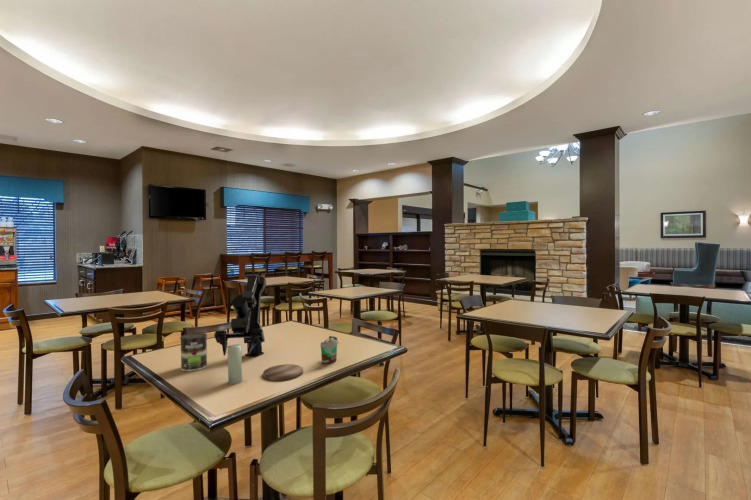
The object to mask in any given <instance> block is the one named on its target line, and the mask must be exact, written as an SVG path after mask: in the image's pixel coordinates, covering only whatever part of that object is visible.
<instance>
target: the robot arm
mask: <svg viewBox="0 0 751 500" xmlns="http://www.w3.org/2000/svg"><path fill="white" fill-rule="evenodd" d="M246 281H247V282H246V285H245V287H244V290H243V292H242V293H239V294H237V296H235V297H234V298H233V299H232V300H231V305H232V307H233V310H234V313H235V314H236V315H235V316H236V317H235V318H231V319H230V329H231V332H227V330H226V329H217V330H216V331H215V332H214V335H213V336H214V337H213V338H214V339H215V341H216V343H218V344H219V345H221V347H222V348H221V349H222V354H223V356H226V354H227V351H228V339H243V343H244V344H246V345H247V346H246V348H247V349H246V351H247V353H245V354H244V356H247V357H253V358H255V357H257V356H261V355H263V354H265V352H264V351H263V347H262V346H263V345H262V343H263V342H264V343H265V333H264V330H263V328H262V326H261V324H260V313H261V299H262V294H263V293H264V291H265V288H266V286H267V278H266V277H264V276H260V275H257V274H251V275H250V274H249V275H248V276H247V280H246Z"/></svg>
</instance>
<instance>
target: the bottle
mask: <svg viewBox="0 0 751 500" xmlns="http://www.w3.org/2000/svg"><path fill="white" fill-rule="evenodd" d="M242 359H243V357H242V344H230V345H227V376H228V377H227V380H228V381H227V384H228V385H238V384H241V383H242V382H243V369H242V368H243V362H242V361H243V360H242Z"/></svg>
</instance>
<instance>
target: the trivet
mask: <svg viewBox="0 0 751 500" xmlns="http://www.w3.org/2000/svg"><path fill="white" fill-rule="evenodd" d="M303 373H304V368H303V366H301V365H298V364H288V363H287V364H278V365H273V366H271V367H268V368H266V369H264V370H263V373H262V378H264V379H265V380H267V381H272V382H284V381H290V380H294V379H297V378H299V377H301V376H302V375H303Z"/></svg>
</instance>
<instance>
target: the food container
mask: <svg viewBox="0 0 751 500" xmlns="http://www.w3.org/2000/svg"><path fill="white" fill-rule="evenodd" d="M339 343H340V342H339V339H338V337H337V336H335V335H333V336H332V335H329V336H328V338H326V339H325V340H324V341H322V342H320V350H321V365H329V364H333V363H336V362H337V355H338V345H339Z"/></svg>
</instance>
